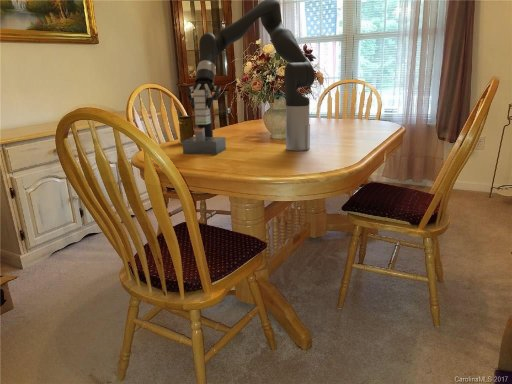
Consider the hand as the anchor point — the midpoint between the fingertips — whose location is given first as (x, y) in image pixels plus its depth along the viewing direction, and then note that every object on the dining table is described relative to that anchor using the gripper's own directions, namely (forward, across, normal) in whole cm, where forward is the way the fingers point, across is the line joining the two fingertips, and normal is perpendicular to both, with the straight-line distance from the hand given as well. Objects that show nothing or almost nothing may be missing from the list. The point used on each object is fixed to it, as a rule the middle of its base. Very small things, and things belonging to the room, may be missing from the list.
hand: (201, 107), depth 159 cm
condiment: (-4, +12, -29) cm, 31 cm away
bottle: (-7, +5, -33) cm, 34 cm away
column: (+3, 0, -6) cm, 7 cm away
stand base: (+11, 0, -14) cm, 18 cm away
